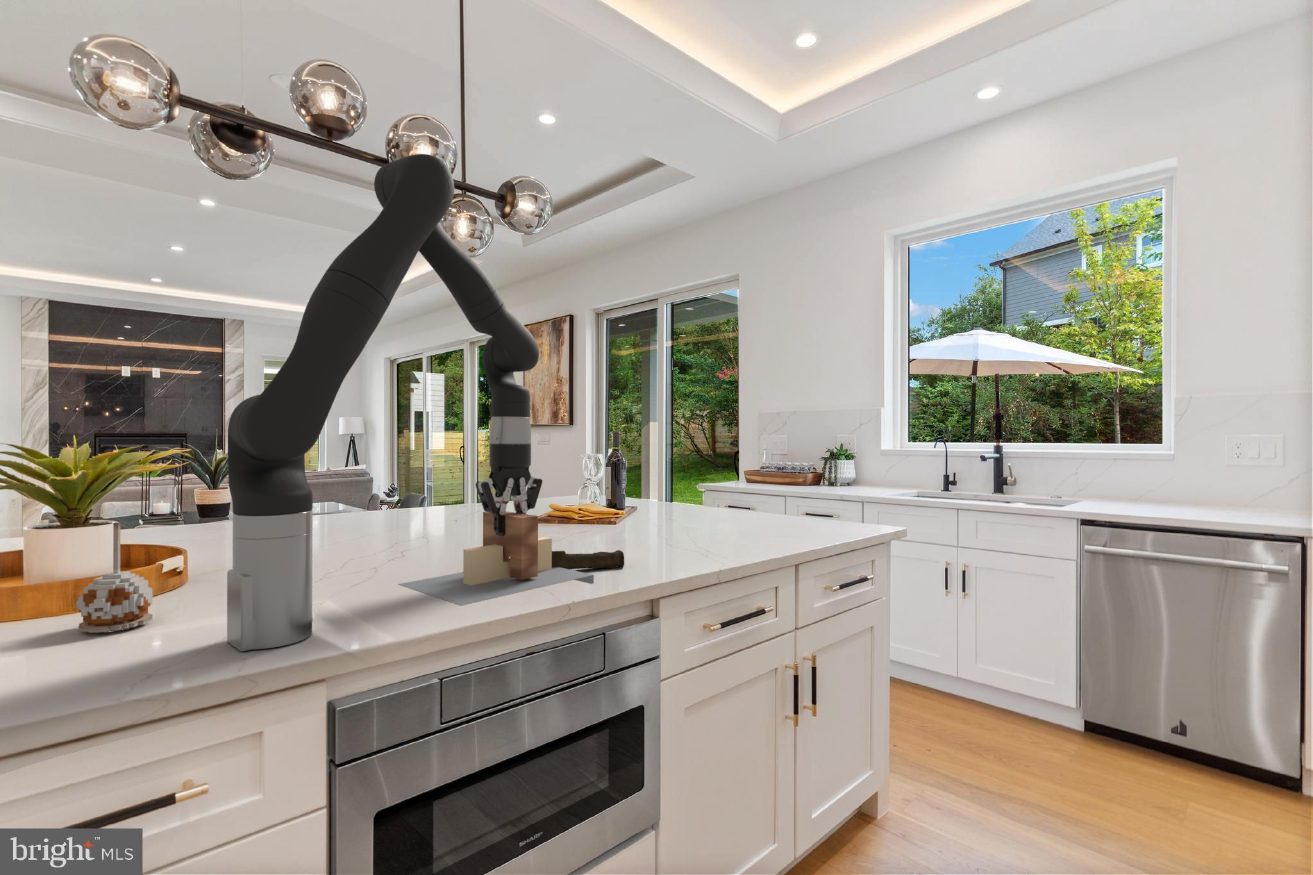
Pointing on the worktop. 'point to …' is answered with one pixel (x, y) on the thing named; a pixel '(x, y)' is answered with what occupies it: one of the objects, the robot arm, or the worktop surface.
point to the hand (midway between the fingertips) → (509, 533)
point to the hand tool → (588, 560)
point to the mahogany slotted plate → (515, 542)
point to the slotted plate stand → (494, 576)
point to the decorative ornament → (115, 598)
